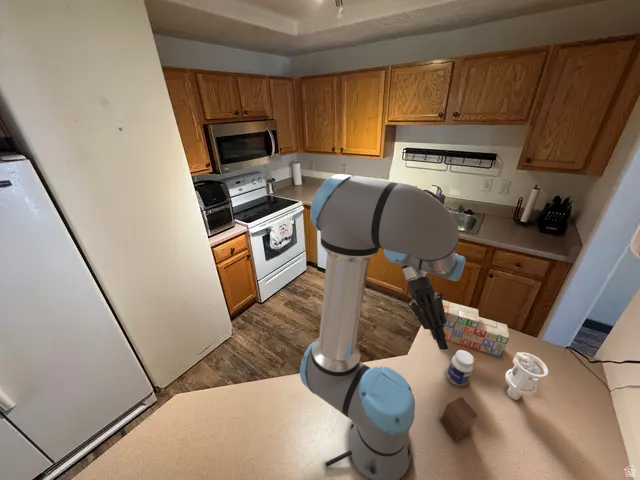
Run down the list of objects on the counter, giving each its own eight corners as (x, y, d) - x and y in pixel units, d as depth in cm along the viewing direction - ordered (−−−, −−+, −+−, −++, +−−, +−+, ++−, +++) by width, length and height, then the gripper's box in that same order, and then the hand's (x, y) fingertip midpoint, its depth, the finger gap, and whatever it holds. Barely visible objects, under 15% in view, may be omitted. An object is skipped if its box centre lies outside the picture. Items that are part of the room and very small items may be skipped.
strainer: (503, 377, 79) (520, 345, 72) (531, 394, 75) (552, 361, 67) (495, 393, 75) (513, 360, 68) (524, 412, 70) (546, 379, 63)
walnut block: (455, 440, 65) (463, 423, 61) (440, 420, 69) (447, 403, 65) (470, 431, 67) (478, 415, 63) (454, 412, 71) (462, 396, 67)
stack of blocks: (498, 343, 90) (510, 318, 84) (500, 357, 85) (513, 331, 79) (433, 323, 99) (440, 298, 93) (431, 334, 94) (438, 309, 88)
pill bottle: (442, 372, 81) (449, 351, 76) (456, 366, 83) (464, 345, 78) (457, 389, 76) (465, 368, 72) (471, 382, 78) (480, 361, 73)
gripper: (425, 275, 94) (451, 341, 88) (395, 284, 89) (420, 354, 84) (439, 271, 87) (468, 343, 81) (407, 281, 83) (435, 357, 77)
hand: (444, 349), depth 83 cm, fingers closed
